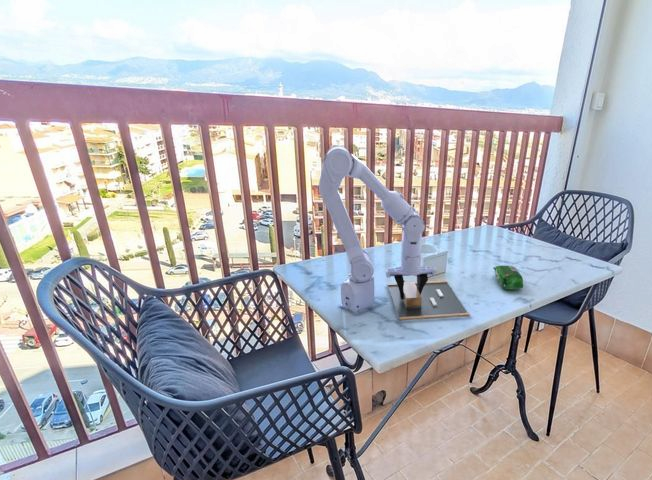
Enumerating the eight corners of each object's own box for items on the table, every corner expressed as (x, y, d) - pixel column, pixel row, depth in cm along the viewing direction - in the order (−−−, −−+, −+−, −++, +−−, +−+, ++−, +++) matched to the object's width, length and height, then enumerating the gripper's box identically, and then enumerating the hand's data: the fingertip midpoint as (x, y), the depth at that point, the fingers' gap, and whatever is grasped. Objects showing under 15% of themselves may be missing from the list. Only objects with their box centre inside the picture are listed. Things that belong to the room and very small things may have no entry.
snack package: (511, 275, 143) (513, 261, 140) (524, 293, 129) (526, 277, 126) (491, 275, 142) (493, 261, 140) (502, 293, 129) (504, 278, 126)
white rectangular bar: (433, 306, 117) (433, 304, 117) (429, 299, 121) (429, 297, 121) (437, 306, 117) (437, 304, 117) (433, 299, 122) (433, 297, 121)
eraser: (406, 309, 115) (406, 298, 114) (399, 292, 126) (399, 282, 124) (421, 308, 116) (421, 297, 114) (413, 291, 126) (413, 281, 125)
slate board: (399, 322, 110) (399, 318, 109) (387, 287, 131) (387, 283, 131) (469, 318, 113) (469, 314, 112) (446, 284, 134) (446, 280, 134)
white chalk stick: (439, 297, 123) (439, 295, 123) (435, 290, 127) (435, 289, 127) (443, 297, 123) (443, 295, 123) (439, 290, 127) (439, 289, 127)
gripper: (432, 249, 119) (430, 290, 125) (384, 251, 117) (384, 293, 123) (438, 257, 113) (435, 300, 119) (387, 259, 110) (387, 303, 117)
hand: (410, 297), depth 121 cm, fingers closed on eraser, 4 cm apart
